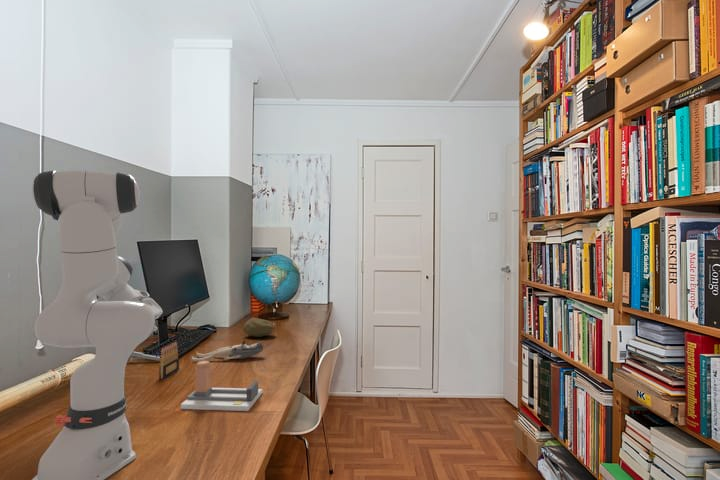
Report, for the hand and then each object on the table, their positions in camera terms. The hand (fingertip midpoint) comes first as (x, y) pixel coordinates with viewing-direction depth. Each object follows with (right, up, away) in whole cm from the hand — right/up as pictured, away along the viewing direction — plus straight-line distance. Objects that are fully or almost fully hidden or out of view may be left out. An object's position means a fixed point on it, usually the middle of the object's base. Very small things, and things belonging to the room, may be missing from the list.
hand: (153, 331), depth 132 cm
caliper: (-22, -23, +39) cm, 50 cm away
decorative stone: (+15, -22, +81) cm, 86 cm away
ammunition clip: (-6, -23, +24) cm, 34 cm away
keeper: (+17, -21, -1) cm, 27 cm away
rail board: (+24, -23, -1) cm, 33 cm away
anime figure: (+11, -23, +44) cm, 50 cm away
